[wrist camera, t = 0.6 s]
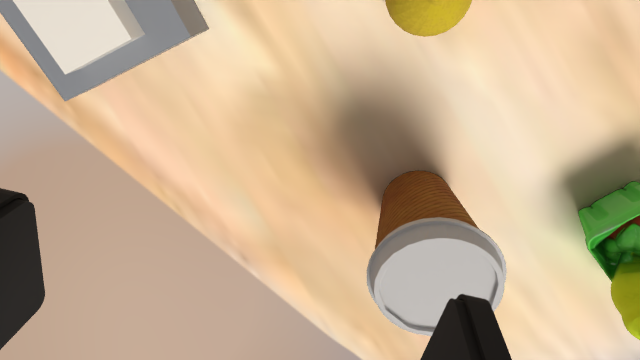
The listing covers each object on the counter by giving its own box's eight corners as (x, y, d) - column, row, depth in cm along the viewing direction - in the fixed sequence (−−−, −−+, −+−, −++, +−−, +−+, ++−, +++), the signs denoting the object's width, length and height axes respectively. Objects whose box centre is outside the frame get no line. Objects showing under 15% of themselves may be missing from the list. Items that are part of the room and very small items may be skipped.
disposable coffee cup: (352, 169, 38) (349, 249, 27) (460, 141, 36) (501, 216, 25) (379, 251, 42) (386, 350, 31) (477, 231, 40) (520, 328, 29)
